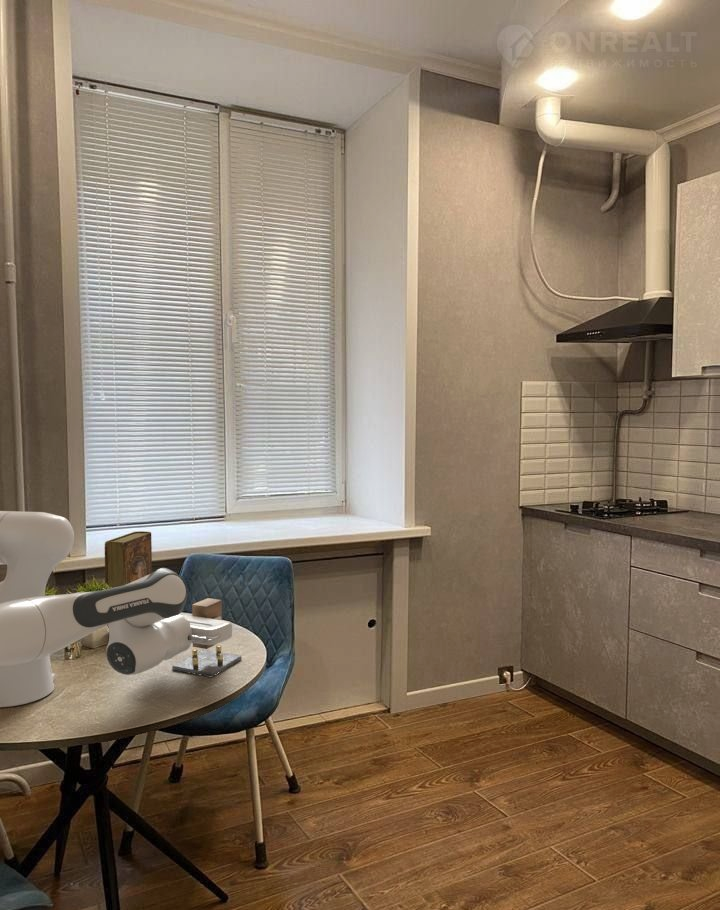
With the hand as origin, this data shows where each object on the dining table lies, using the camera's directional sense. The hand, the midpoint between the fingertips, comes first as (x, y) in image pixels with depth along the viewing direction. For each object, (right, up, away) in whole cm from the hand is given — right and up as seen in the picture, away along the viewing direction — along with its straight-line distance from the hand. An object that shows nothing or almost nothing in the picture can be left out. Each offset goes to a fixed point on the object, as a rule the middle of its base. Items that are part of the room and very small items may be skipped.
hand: (209, 617), depth 164 cm
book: (-28, -9, +29) cm, 42 cm away
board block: (0, -6, 0) cm, 6 cm away
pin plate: (0, -11, 0) cm, 11 cm away
